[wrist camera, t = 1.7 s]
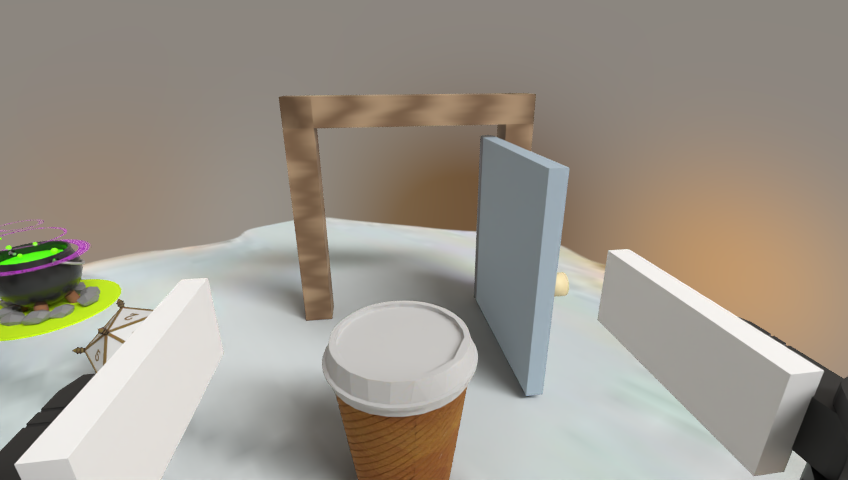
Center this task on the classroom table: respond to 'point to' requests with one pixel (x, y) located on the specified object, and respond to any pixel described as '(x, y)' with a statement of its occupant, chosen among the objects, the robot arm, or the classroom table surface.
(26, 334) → the toy cauldron
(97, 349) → the game die
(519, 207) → the door
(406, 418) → the disposable coffee cup
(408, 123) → the door frame
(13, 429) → the classroom table surface
